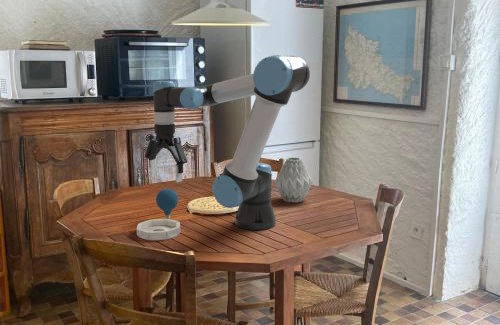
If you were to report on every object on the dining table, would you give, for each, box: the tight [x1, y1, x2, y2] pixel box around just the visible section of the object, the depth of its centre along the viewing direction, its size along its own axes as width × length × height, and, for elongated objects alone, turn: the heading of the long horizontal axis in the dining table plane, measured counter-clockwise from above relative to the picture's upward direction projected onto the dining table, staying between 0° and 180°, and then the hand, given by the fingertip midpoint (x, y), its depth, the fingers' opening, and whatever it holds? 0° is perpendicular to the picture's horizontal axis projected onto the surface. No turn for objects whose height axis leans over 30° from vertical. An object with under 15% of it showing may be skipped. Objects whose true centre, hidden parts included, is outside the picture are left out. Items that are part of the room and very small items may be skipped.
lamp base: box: [136, 218, 181, 241], centre depth 179 cm, size 15×15×3 cm
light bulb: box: [155, 188, 179, 219], centre depth 194 cm, size 8×8×12 cm
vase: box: [274, 157, 313, 203], centre depth 220 cm, size 16×16×18 cm
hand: (166, 179), depth 192 cm, fingers open, 13 cm apart
